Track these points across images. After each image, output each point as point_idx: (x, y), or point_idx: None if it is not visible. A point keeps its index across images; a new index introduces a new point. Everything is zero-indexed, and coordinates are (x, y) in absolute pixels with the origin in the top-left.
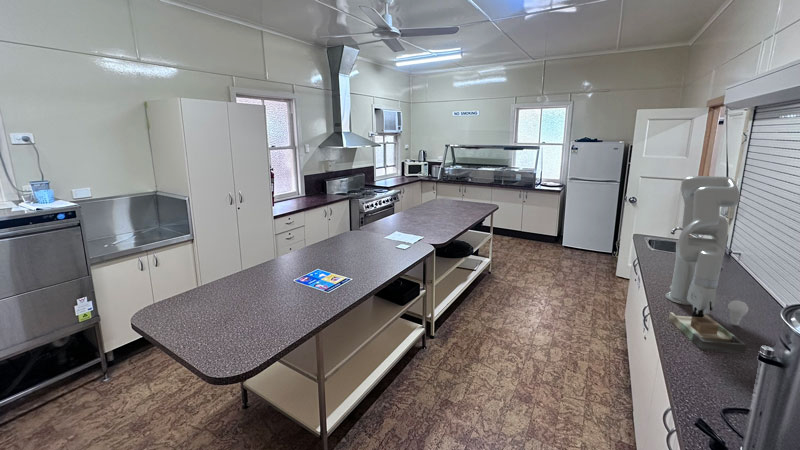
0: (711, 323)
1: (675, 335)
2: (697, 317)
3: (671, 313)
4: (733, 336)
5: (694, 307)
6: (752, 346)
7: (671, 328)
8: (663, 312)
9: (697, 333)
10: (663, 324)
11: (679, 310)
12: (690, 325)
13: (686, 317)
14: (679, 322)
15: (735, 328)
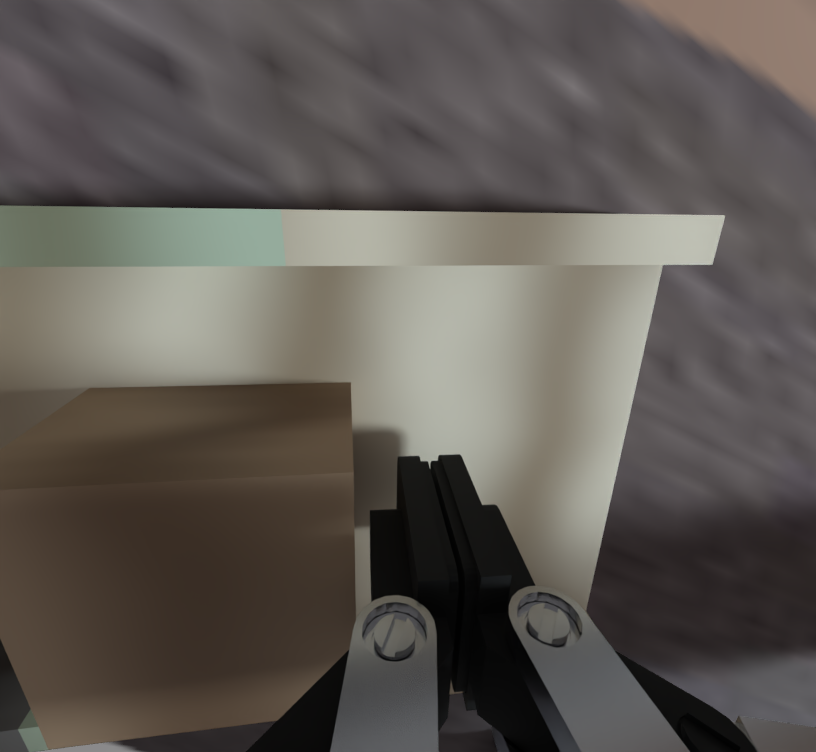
0: (94, 679)
1: (66, 8)
2: (331, 553)
3: (673, 219)
4: (4, 736)
5: (563, 715)
6: (124, 741)
7: (337, 91)
8: (810, 254)
9: (60, 355)
10: (464, 19)
11: (808, 465)
12: (345, 379)
13: (592, 439)
14: (354, 210)
15: (450, 735)
